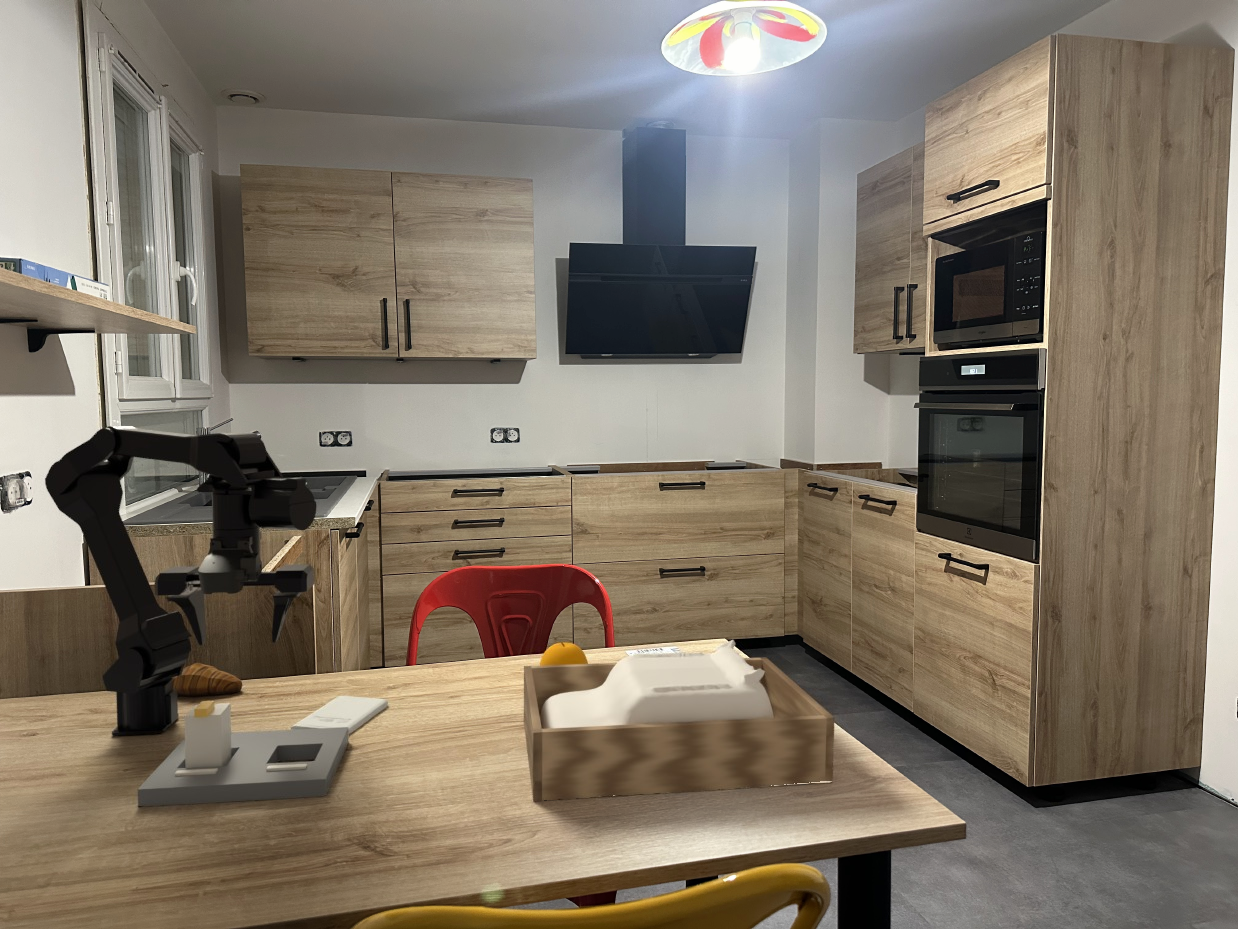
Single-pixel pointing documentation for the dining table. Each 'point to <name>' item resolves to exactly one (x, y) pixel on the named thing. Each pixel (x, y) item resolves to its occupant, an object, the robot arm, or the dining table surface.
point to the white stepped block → (666, 692)
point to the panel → (252, 769)
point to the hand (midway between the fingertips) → (238, 643)
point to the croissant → (205, 681)
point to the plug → (208, 735)
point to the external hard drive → (343, 713)
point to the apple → (563, 655)
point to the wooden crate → (674, 743)
